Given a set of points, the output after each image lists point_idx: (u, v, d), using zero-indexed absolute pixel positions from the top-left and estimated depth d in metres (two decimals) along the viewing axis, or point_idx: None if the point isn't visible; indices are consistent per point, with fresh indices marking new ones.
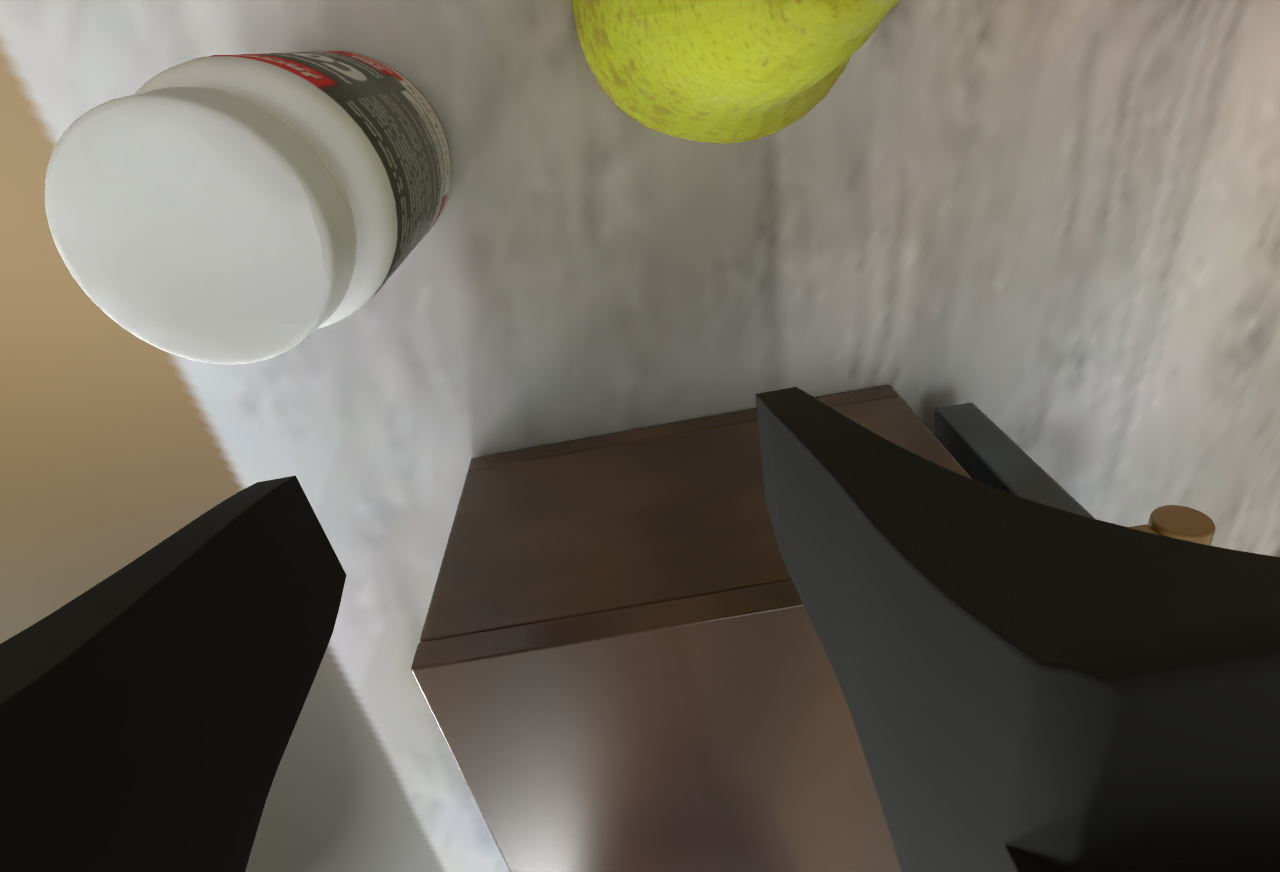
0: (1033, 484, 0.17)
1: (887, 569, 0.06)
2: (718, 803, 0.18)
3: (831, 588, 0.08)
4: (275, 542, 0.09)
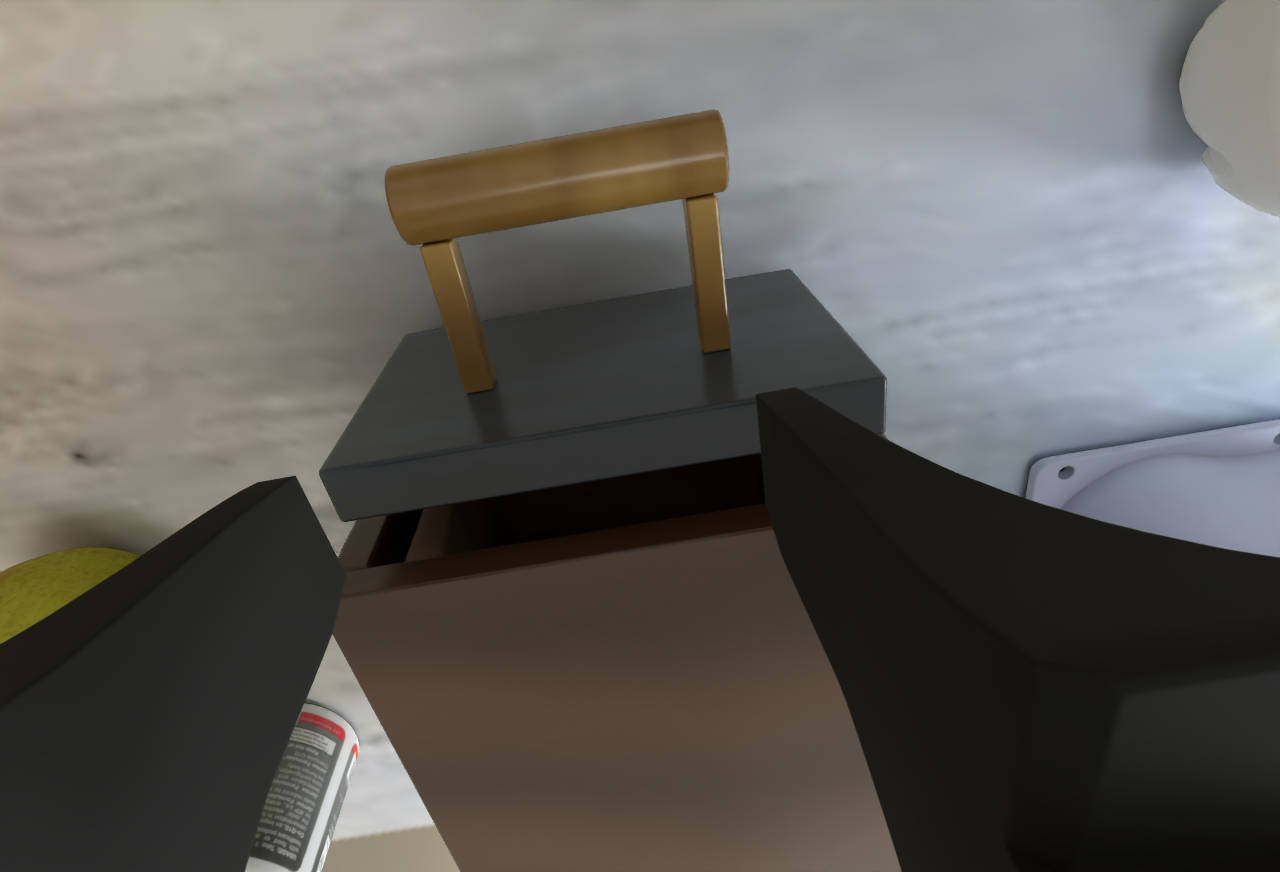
0: None
1: (887, 569, 0.06)
2: (705, 790, 0.16)
3: (831, 588, 0.08)
4: (275, 542, 0.09)
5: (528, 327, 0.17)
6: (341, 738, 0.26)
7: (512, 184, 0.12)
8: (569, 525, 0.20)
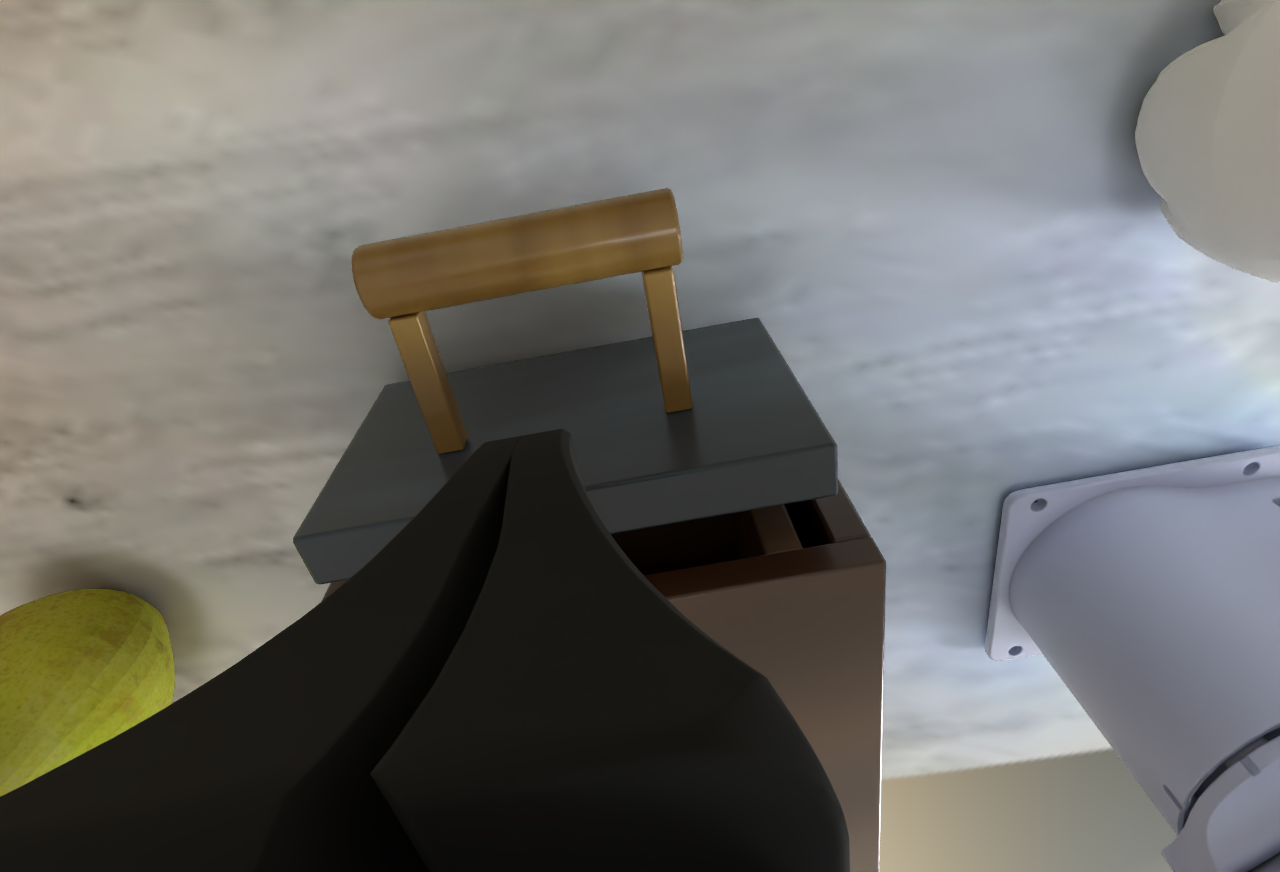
0: None
1: None
2: None
3: None
4: None
5: (502, 379, 0.18)
6: None
7: (473, 264, 0.12)
8: None
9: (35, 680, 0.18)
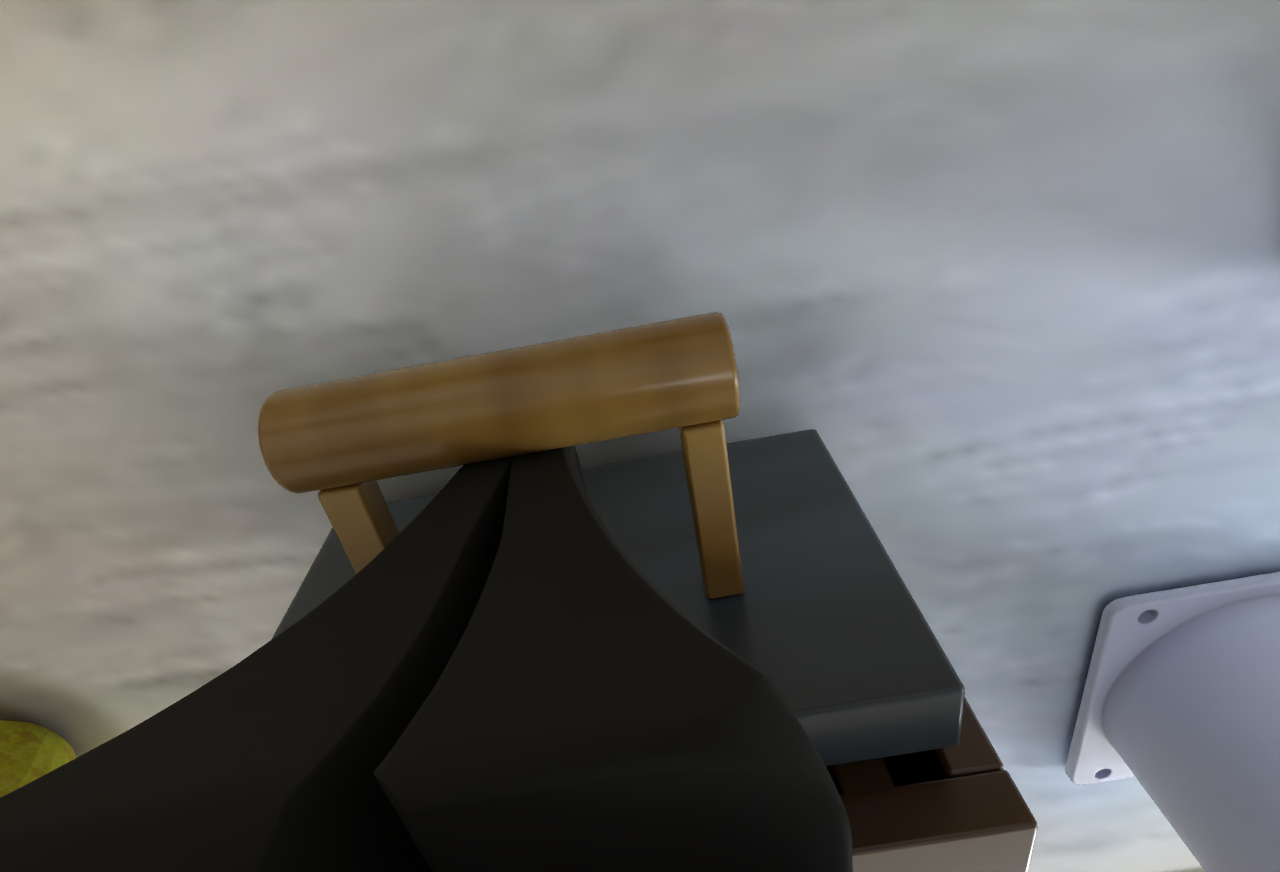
0: None
1: None
2: None
3: None
4: None
5: None
6: None
7: (435, 428, 0.08)
8: None
9: None
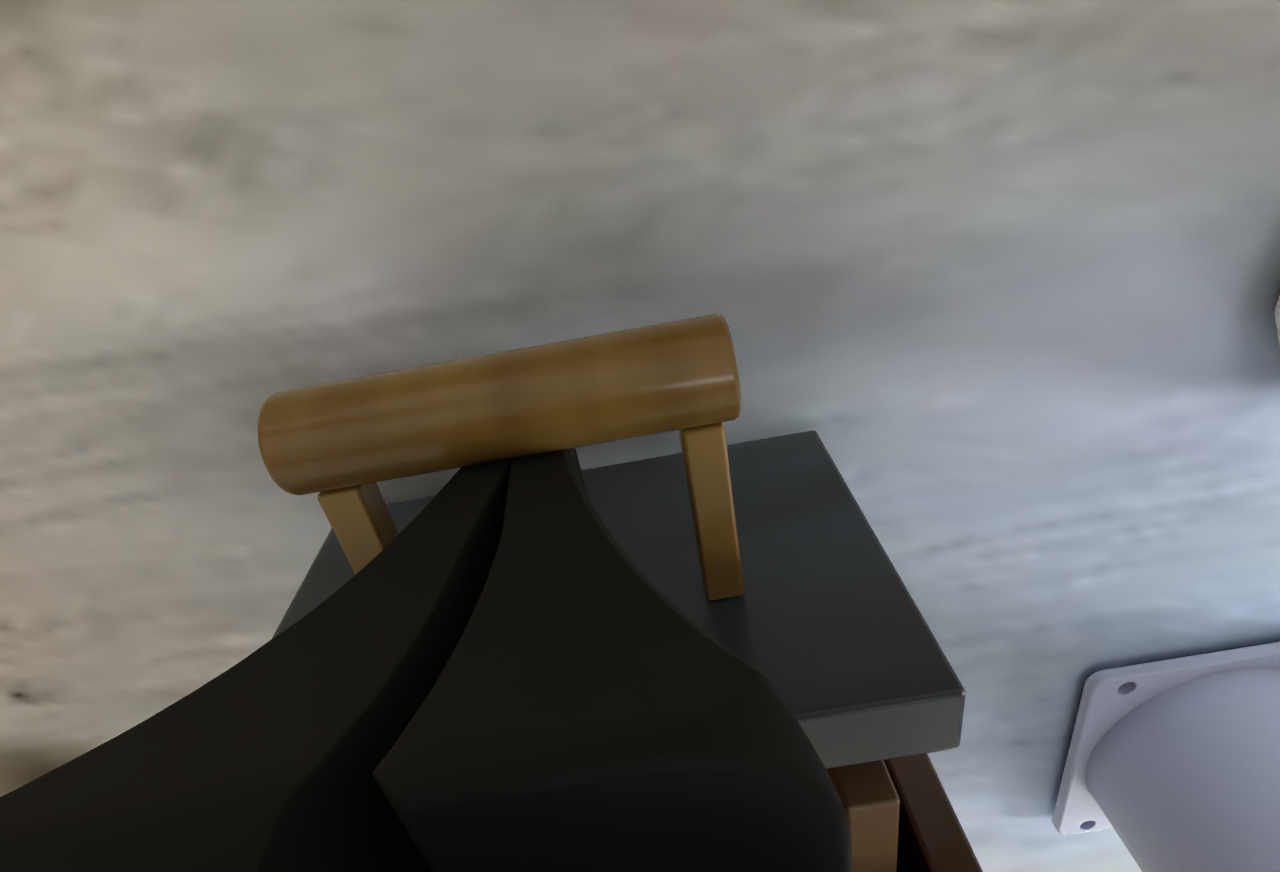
0: None
1: None
2: None
3: None
4: None
5: None
6: None
7: (435, 430, 0.08)
8: None
9: None
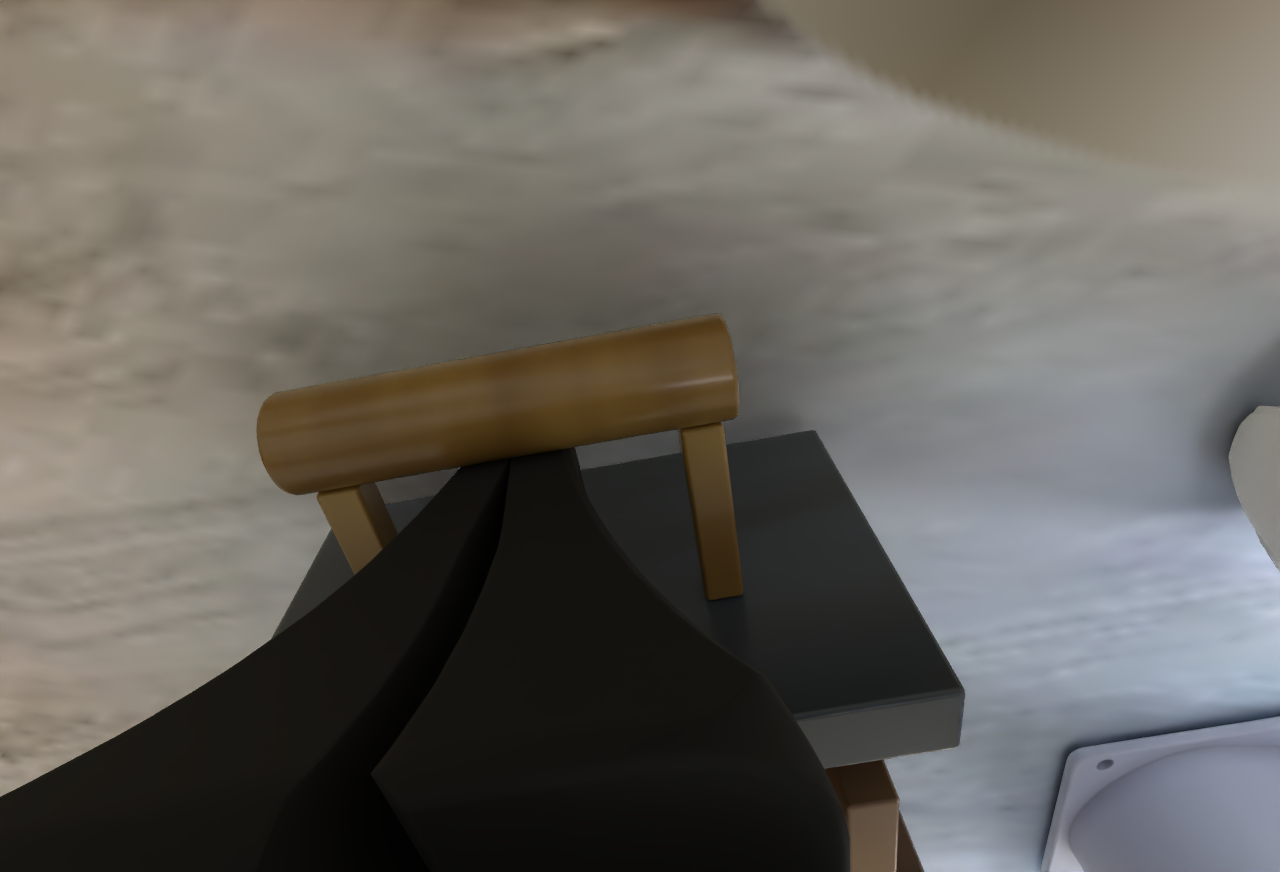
0: None
1: None
2: None
3: None
4: None
5: None
6: None
7: (434, 429, 0.08)
8: None
9: None
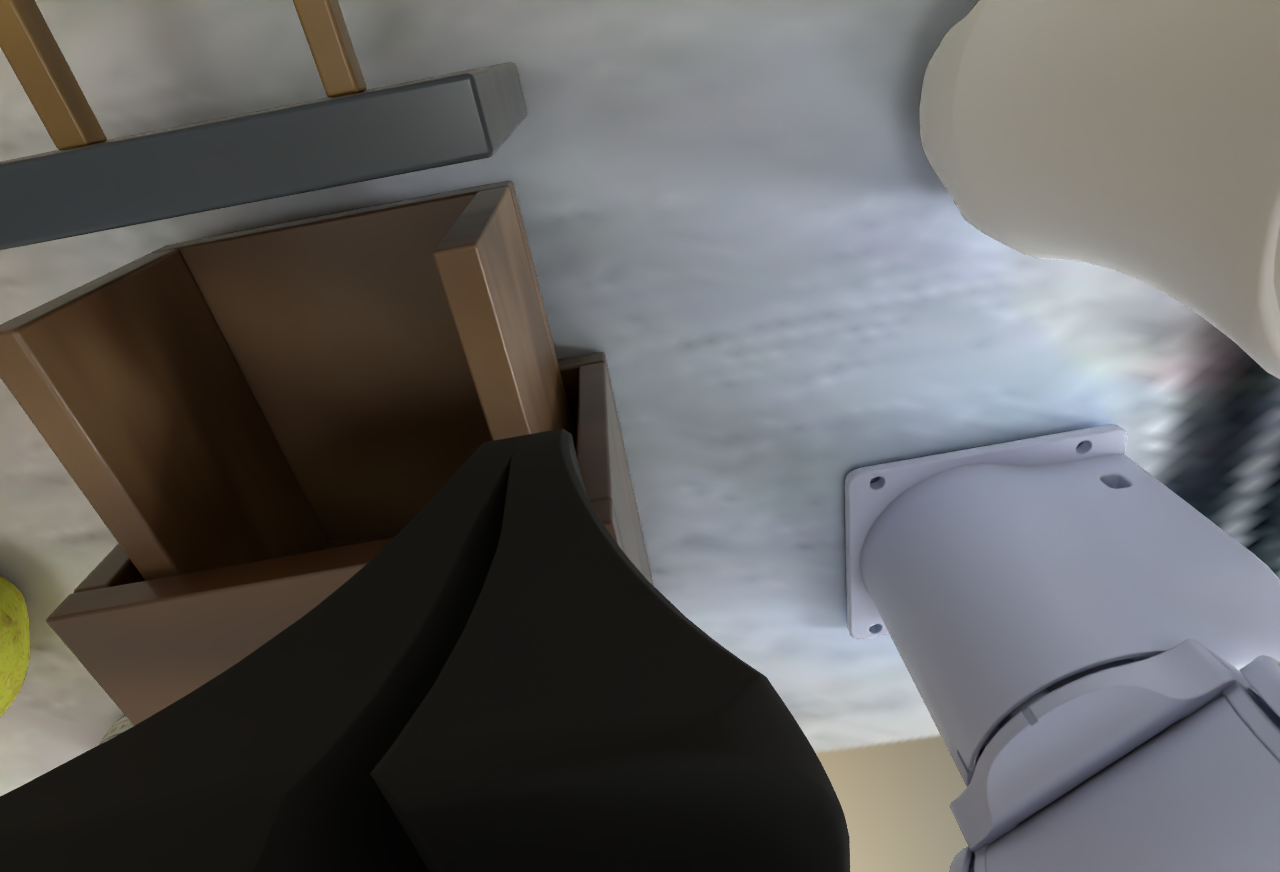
0: None
1: None
2: None
3: None
4: None
5: (205, 121, 0.15)
6: None
7: None
8: (310, 375, 0.18)
9: None
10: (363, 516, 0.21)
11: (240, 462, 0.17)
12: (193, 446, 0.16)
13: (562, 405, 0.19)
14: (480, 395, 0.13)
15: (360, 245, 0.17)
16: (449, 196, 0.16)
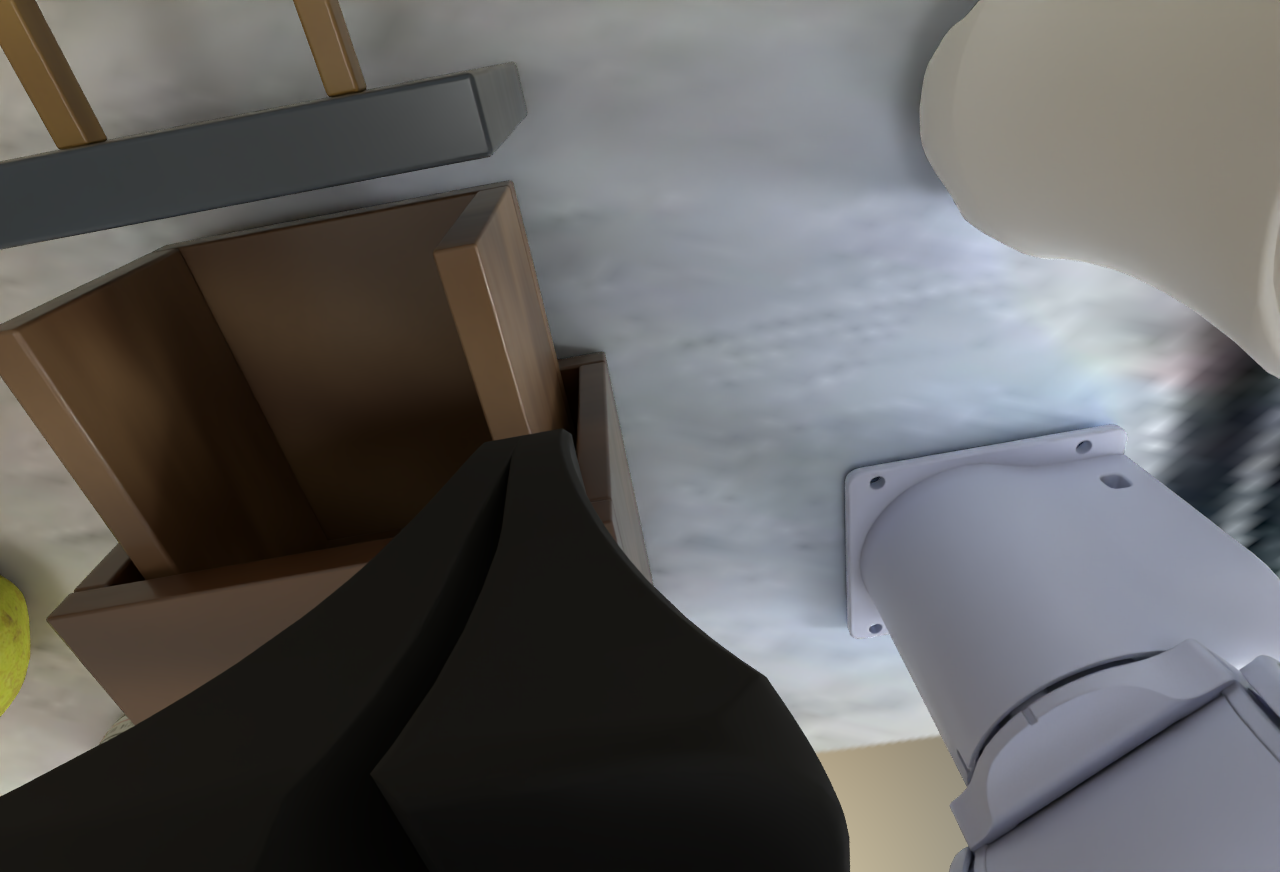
0: None
1: None
2: None
3: None
4: None
5: None
6: None
7: None
8: (310, 375, 0.18)
9: None
10: (363, 516, 0.21)
11: (240, 462, 0.17)
12: (193, 445, 0.16)
13: (562, 405, 0.19)
14: (480, 395, 0.13)
15: (360, 245, 0.17)
16: (449, 196, 0.16)
